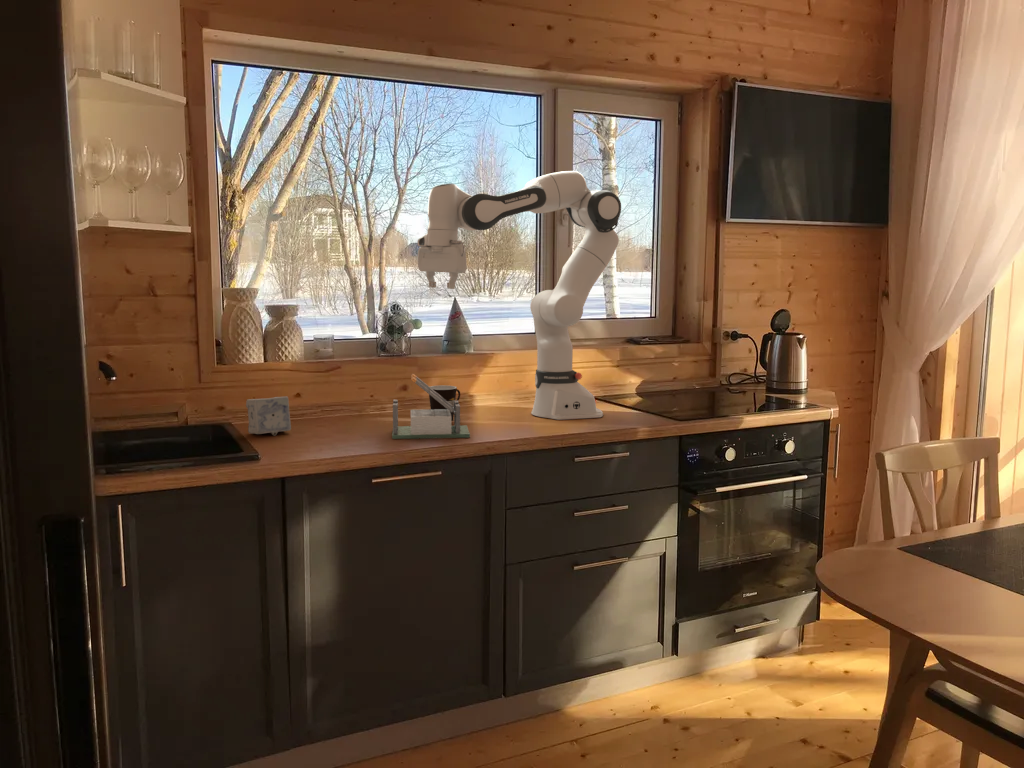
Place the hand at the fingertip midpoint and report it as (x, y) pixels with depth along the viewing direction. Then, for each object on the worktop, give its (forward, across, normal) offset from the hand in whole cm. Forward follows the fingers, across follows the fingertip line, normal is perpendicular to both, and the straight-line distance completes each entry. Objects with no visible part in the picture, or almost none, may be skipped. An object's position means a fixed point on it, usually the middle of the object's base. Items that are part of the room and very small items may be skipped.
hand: (441, 288), depth 239 cm
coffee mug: (+40, +1, -4) cm, 40 cm away
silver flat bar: (+29, -11, +10) cm, 32 cm away
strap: (+29, -16, +14) cm, 35 cm away
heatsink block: (+40, -13, +12) cm, 44 cm away
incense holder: (+41, +14, +47) cm, 64 cm away
